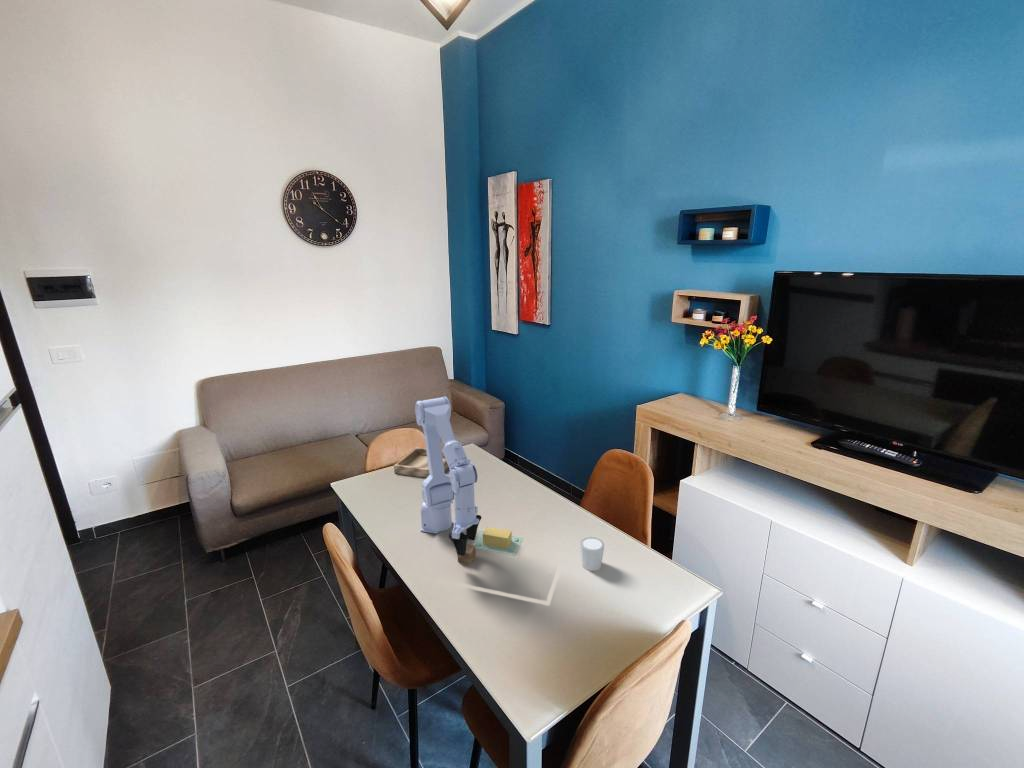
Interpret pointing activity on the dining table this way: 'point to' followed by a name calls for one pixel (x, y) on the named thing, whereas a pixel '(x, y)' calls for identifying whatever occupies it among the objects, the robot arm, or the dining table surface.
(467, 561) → the walnut block
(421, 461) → the tan wooden shallow tray
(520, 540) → the plate
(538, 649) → the dining table surface
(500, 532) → the ochre brick
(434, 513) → the robot arm
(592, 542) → the shot glass
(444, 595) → the dining table surface
